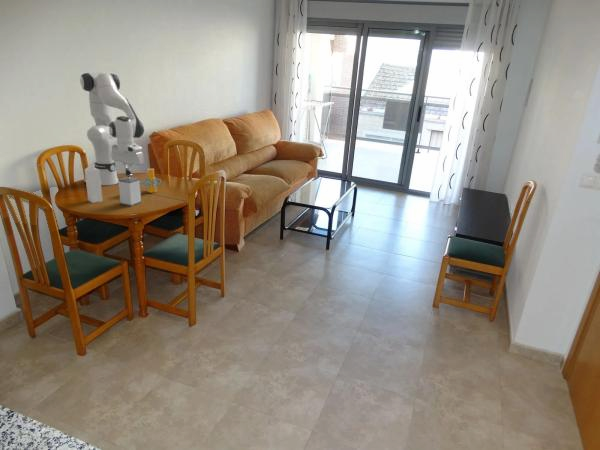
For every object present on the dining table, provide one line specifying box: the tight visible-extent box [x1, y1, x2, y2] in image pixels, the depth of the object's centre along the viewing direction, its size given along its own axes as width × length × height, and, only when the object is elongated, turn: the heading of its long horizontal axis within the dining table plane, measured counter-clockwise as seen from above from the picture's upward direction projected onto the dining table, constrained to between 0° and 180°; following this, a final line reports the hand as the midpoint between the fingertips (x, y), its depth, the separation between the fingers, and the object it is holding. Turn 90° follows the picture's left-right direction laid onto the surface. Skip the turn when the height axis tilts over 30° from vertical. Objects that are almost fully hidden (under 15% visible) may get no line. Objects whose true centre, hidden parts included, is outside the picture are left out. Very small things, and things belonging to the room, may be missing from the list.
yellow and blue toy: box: [140, 167, 162, 194], centre depth 266 cm, size 12×10×15 cm
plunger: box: [124, 170, 133, 180], centre depth 242 cm, size 5×5×19 cm
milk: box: [84, 163, 103, 204], centre depth 241 cm, size 6×6×22 cm
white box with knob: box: [118, 176, 142, 207], centre depth 244 cm, size 8×12×15 cm, turn 159°
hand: (128, 170), depth 238 cm, fingers closed, pressing on plunger
